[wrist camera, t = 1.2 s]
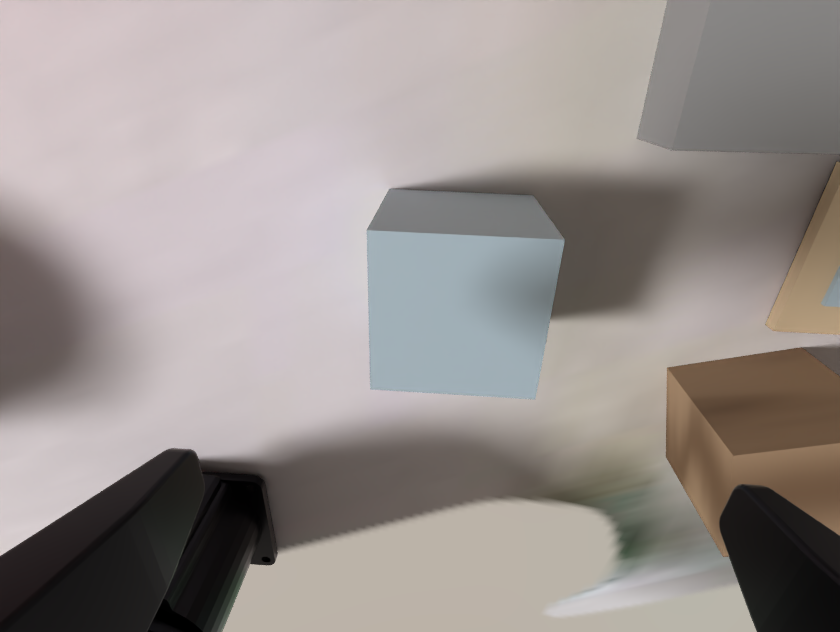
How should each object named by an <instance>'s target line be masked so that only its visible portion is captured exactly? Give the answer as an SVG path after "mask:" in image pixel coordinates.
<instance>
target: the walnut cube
mask: <svg viewBox="0 0 840 632" xmlns="http://www.w3.org/2000/svg"><path fill="white" fill-rule="evenodd" d="M666 458H667V460H668V461H669V463H670V465H671V467H672V468H673V470H674V472H675V474H676V475H677V477H678V479H679V481H680V482H681V484H682V486H683V488H684V489H685V491H686V493H687V495H688V496H689V498H690V500H691V502H692V503H693V505H694V507H695V508H696V510H697V512H698V514H699V515H700V517H701V519H702V521H703V522H704V524H705V526H706V528H707V529H708V531H709V533H710V535H711V536H712V538H713V540H714V542H715V543H716V545H717V547H718V549H719V550H720V552H721V554H722V556H723V557H728V556H729V555H728V552H727V550H726V547H725V544H724V541H723V539H722V536H721V533H720V528H719V519H720V515H721V513H722V511H723V509H724V507H725V505H726V503H727V501H728V499H729V497H730V495H731V493H732V491H733V489H734V488H735V487H736V486H737V485H739V484H751V485H763V486H766V487H769V488H770V489H772V490H774V491H775V492H777V493H778V494H780V495H781V496H782V497H784V498H785V499H787V500H788V501H790V502H791V503H793V504H794V505H796V506H797V507H799V508H800V509H802V510H803V511H804V512H806V513H807V514H809V515H810V516H812V517H813V518H815V519H816V520H818V521H819V522H821V523H822V524H824V525H825V526H827V527H828V528H829V529H831V530H832V531H834V532H835V533H837V534H838V535H840V376H838V375H837V374H836V373H834V372H833V371H832V370H830V369H829V368H828V367H826V366H825V365H824V364H823V363H821V362H820V361H819V360H817V359H816V358H815V357H813V356H812V355H811V354H809V353H808V352H807V351H806V350H804V349H803V348H802V347H801V348H794V349H787V350H781V351H774V352H768V353H761V354H754V355H748V356H741V357H734V358H728V359H721V360H715V361H708V362H701V363H695V364H688V365H682V366H675V367H668V368H667V417H666Z"/></svg>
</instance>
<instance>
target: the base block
mask: <svg viewBox="0 0 840 632" xmlns="http://www.w3.org/2000/svg"><path fill="white" fill-rule="evenodd" d="M637 139H640V140H643V141H646V142H649V143H652V144H655V145H658V146H661V147H664V148H667V149H670V150H682V151H721V152H759V153H798V154H837V155H840V0H667V5H666V9H665V14H664V18H663V23H662V27H661V32H660V36H659V41H658V45H657V49H656V54H655V58H654V63H653V67H652V72H651V76H650V81H649V85H648V90H647V94H646V99H645V103H644V108H643V112H642V117H641V121H640V126H639V130H638V135H637Z"/></svg>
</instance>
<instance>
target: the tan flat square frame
mask: <svg viewBox="0 0 840 632" xmlns="http://www.w3.org/2000/svg"><path fill="white" fill-rule="evenodd" d="M765 325H766V326H768V327H769V328H770V329H772V330H773V331H782V332H800V333H819V334H838V335H840V162H836V165H835V167H834V169H833V171H832V174H831V176H830V178H829V181H828V183H827V185H826V187H825V190H824V192H823V194H822V197H821V199H820V201H819V203H818V206H817V208H816V210H815V212H814V215H813V217H812V219H811V222H810V224H809V226H808V228H807V231H806V233H805V235H804V238H803V240H802V242H801V244H800V247H799V249H798V251H797V254H796V256H795V258H794V260H793V263H792V265H791V267H790V270H789V272H788V274H787V276H786V279H785V281H784V283H783V285H782V288H781V290H780V292H779V295H778V297H777V299H776V301H775V304H774V306H773V308H772V311H771V313H770V315H769V317H768V320H767V322H766V324H765Z"/></svg>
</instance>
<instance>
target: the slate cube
mask: <svg viewBox="0 0 840 632" xmlns="http://www.w3.org/2000/svg"><path fill="white" fill-rule="evenodd" d="M564 242H565V239H564V238H563V236H562V235H561V234H560V232H559V231H558V229H557V228H556V227H555V225H554V224H553V222H552V221H551V220H550V218H549V217H548V215H547V214H546V213H545V211H544V210H543V208H542V207H541V206H540V204H539V203H538V201H537V200H536V199H535V197H534V196H533V195H515V194H492V193H470V192H448V191H426V190H403V189H389V191H388V192H387V194H386V196H385V198H384V200H383V202H382V203H381V205H380V207H379V209H378V211H377V213H376V214H375V216H374V218H373V220H372V222H371V223H370V225H369V227H368V229H367V261H368V305H369V348H370V389H373V390H389V391H405V392H422V393H438V394H454V395H471V396H487V397H503V398H519V399H535V398H536V392H537V387H538V382H539V376H540V371H541V366H542V360H543V355H544V349H545V344H546V339H547V333H548V328H549V323H550V317H551V312H552V307H553V301H554V296H555V291H556V285H557V280H558V274H559V269H560V264H561V258H562V253H563V248H564Z"/></svg>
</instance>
